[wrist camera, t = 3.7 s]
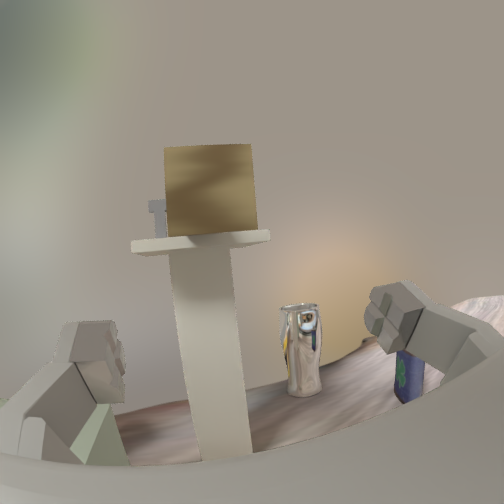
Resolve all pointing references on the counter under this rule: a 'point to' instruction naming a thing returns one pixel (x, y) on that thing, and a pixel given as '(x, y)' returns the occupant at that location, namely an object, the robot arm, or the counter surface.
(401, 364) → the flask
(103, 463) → the sage pedestal
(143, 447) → the counter surface
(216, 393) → the tall stand
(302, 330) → the beer glass
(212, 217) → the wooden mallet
